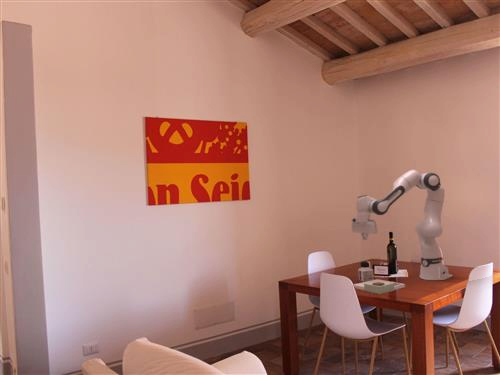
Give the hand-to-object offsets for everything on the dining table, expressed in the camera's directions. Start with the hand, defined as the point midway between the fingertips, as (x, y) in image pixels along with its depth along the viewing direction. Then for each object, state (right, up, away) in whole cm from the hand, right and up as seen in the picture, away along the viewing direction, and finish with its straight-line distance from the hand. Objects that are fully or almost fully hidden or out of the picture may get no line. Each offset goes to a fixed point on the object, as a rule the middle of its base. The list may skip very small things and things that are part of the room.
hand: (365, 239), depth 310 cm
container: (+3, -29, +8) cm, 30 cm away
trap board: (+5, -29, -16) cm, 33 cm away
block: (+2, -27, -26) cm, 37 cm away
